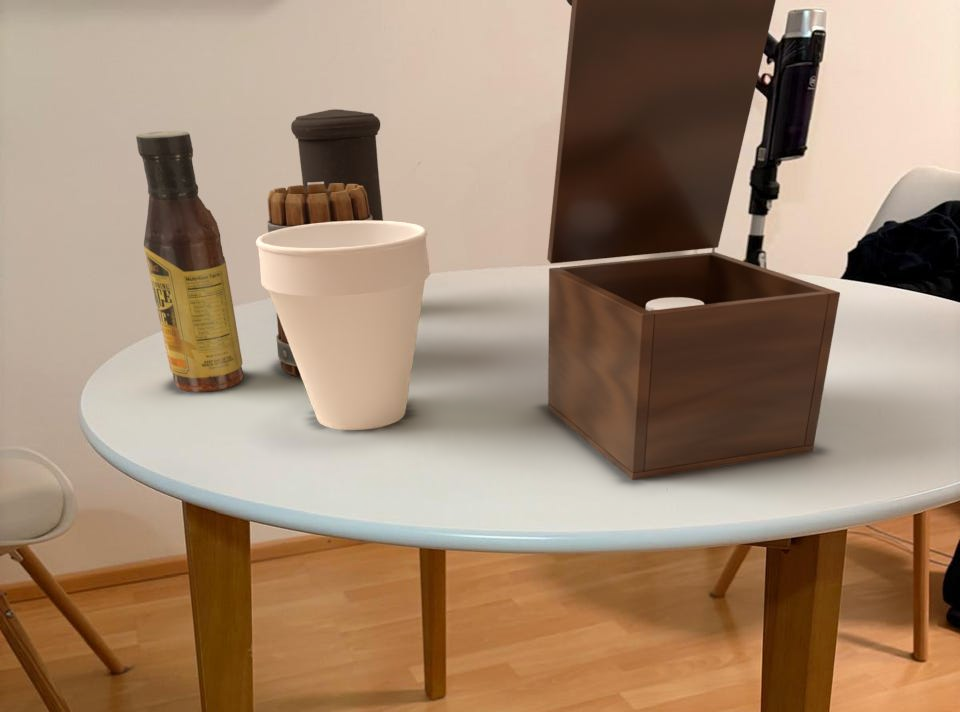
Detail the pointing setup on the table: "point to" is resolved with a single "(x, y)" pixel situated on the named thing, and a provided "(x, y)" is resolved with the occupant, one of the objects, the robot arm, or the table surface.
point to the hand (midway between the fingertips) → (652, 79)
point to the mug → (311, 209)
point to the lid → (652, 123)
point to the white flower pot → (349, 313)
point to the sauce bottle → (188, 269)
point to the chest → (688, 361)
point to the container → (340, 151)
